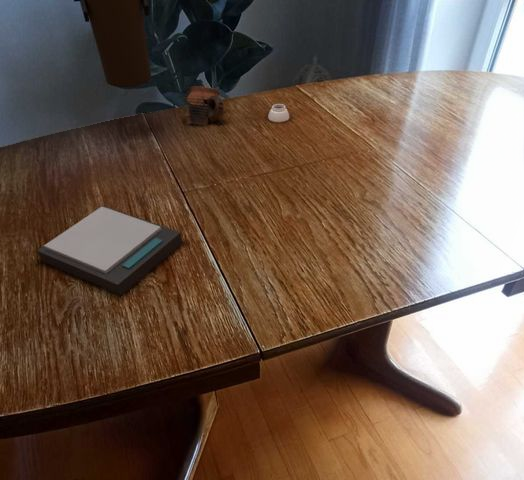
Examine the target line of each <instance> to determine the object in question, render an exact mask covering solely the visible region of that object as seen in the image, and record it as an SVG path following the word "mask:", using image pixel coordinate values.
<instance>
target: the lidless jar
mask: <svg viewBox="0 0 524 480" xmlns="http://www.w3.org/2000/svg"><path fill="white" fill-rule="evenodd" d="M267 119H268V120H269V121H271V122H274V123H283V122H286V121H288V120H290V113H289V111H288V109H287V107H286V105H285V104H283V103H274V104H273V105H272V106H271V109H269V113H268V115H267Z"/></svg>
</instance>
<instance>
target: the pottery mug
mask: <svg viewBox="0 0 524 480" xmlns="http://www.w3.org/2000/svg"><path fill="white" fill-rule="evenodd" d="M187 91H188V92H187V94H186V95H185V96H184V98H183V101H184V102H186V103H187V104H188V113H185V114H184V119H185V123H186V124H187V125H195V126H199V127H203V126H208V124H209V120H210V121H211V122H213V123H214V122H216V121H218V119H219V117H220V116H221V114H222V112H223V110H224V101H223V99H222V98H221V97H220V94H221V92H220V91H219V90H217V89H216V88H213V87H209V86H203V85H202V86H199V85H196V86H195V85H194V86H189V87H188V88H187Z"/></svg>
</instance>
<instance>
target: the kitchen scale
mask: <svg viewBox="0 0 524 480" xmlns="http://www.w3.org/2000/svg"><path fill="white" fill-rule="evenodd" d="M183 244H184V242H183V238H182V233H181V231H178V230H175V229H172V228H169V227H166V226H165V225H160V224H158V223H155V222H152V221H149V220H147V219H143V218H140V217H137V216H135V215H132V214H128V213H126V212H123V211H120V210H118V209H114V208H112V207H109V206H105V205H102V206H100V207H99V208H98V209H96V210H94V211H93V212H92V213H90V214H89V215H87V216H86V217H84V218H83V219H81V220H79V221H78V222H77V223H75V224H74V225H72V226H71V227H69V228H67V229H66V230H64V231H63V232H61V233H60V234H59V235H57V236H56V237H54V238H53V239H51V240H50V241H49V242H47V243H46V244H44V245H43V246H41V247H40V248H38V249H37V250H36V252H37V254H38V256H39V259H40V261H41V262H42V263H44V264H47V265H49V266H50V267H53V268H56V269H58V270H60V271H63V272H65V273H66V274H67V273H68V274H70V275H72V276H74V277H77V278H79V279H81V280H83V281H86V282H89V283H91V284H93V285H95V286H98V287H100V288H102V289H105V290H107V291H109V292H112V293H115V294H116V295H118V296H121V297H122V296H123V295H124V294H126V292H128V291H129V290H130V289H131V288H132V287H133V286H135V285H136V284H138V282H140V280H142V279H143V278H144V277H145V276H146V275H148V274H149V273H150V272H151V271H152V270H153V269H155V267H157V266H158V265H159V264H161V262H163V261H164V260H166V258H167V257H168V256H170V255H171V254H172V253H173V252H174V251H175V250H177V249H178V248H179V247H181V245H183Z"/></svg>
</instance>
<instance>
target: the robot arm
mask: <svg viewBox="0 0 524 480" xmlns="http://www.w3.org/2000/svg"><path fill="white" fill-rule="evenodd" d="M73 2H74V3H75V2H79V4H80V8H81V11H82V15H83V18H84V23H90V20H89V16H88V12H87V8H86V4H85V1H84V0H73ZM141 2H142V10H143V14H144V16H150V4H149V0H141Z"/></svg>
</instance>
